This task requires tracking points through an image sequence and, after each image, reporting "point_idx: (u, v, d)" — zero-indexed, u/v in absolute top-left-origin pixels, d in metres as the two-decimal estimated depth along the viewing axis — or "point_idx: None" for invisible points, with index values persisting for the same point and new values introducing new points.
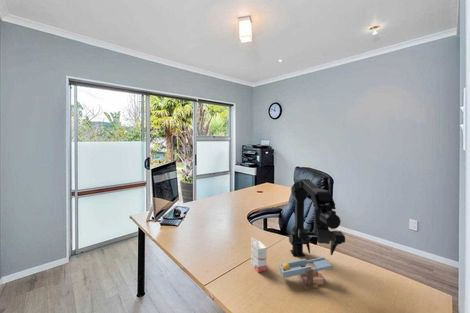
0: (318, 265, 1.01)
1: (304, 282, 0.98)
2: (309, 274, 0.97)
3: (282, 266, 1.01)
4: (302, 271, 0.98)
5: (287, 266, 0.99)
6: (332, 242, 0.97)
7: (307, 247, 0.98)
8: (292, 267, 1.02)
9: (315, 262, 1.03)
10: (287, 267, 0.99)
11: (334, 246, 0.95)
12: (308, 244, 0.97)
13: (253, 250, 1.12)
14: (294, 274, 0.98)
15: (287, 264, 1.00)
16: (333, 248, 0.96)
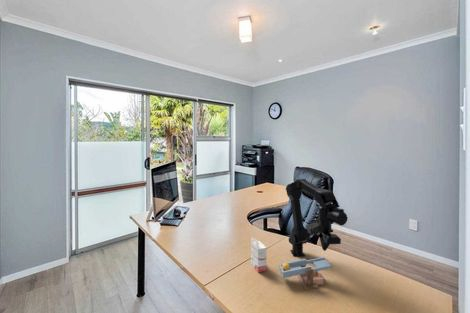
0: (318, 265, 1.01)
1: (304, 282, 0.98)
2: (309, 274, 0.97)
3: (282, 266, 1.01)
4: (302, 271, 0.98)
5: (287, 266, 0.99)
6: None
7: None
8: (292, 267, 1.02)
9: (315, 262, 1.03)
10: (287, 267, 0.99)
11: (322, 241, 1.04)
12: (320, 239, 1.06)
13: (253, 250, 1.12)
14: (294, 274, 0.98)
15: (287, 264, 1.00)
16: (322, 243, 1.04)
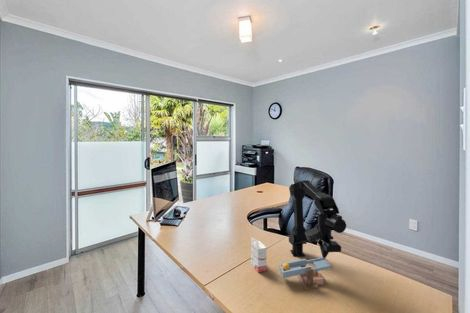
0: (318, 265, 1.01)
1: (304, 282, 0.98)
2: (309, 274, 0.97)
3: (282, 266, 1.01)
4: (302, 271, 0.98)
5: (287, 266, 0.99)
6: None
7: None
8: (292, 267, 1.02)
9: (315, 262, 1.03)
10: (287, 267, 0.99)
11: (322, 248, 1.00)
12: (320, 247, 1.02)
13: (253, 250, 1.12)
14: (294, 274, 0.98)
15: (287, 264, 1.00)
16: (322, 250, 1.00)
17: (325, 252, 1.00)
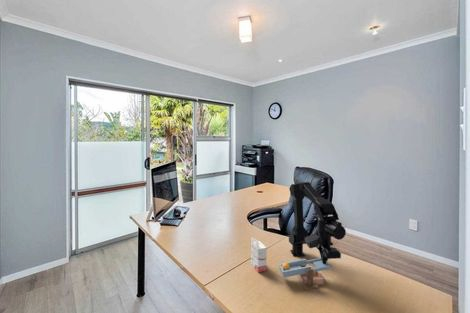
0: (318, 265, 1.01)
1: (304, 282, 0.98)
2: (309, 274, 0.97)
3: (282, 266, 1.01)
4: (302, 271, 0.98)
5: (287, 266, 0.99)
6: None
7: (320, 255, 1.02)
8: (292, 267, 1.02)
9: (315, 262, 1.03)
10: (287, 267, 0.99)
11: (322, 254, 1.00)
12: (320, 253, 1.02)
13: (253, 250, 1.12)
14: (294, 274, 0.98)
15: (287, 264, 1.00)
16: (322, 256, 1.01)
17: (325, 258, 1.00)
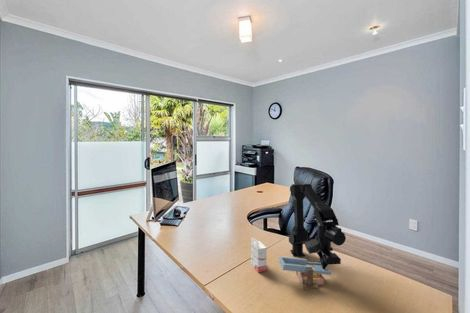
0: (318, 268, 1.01)
1: (304, 282, 0.98)
2: (309, 274, 0.97)
3: None
4: (302, 269, 0.98)
5: (318, 277, 1.01)
6: None
7: None
8: (292, 263, 1.02)
9: (315, 265, 1.03)
10: (317, 277, 1.00)
11: (322, 260, 1.00)
12: (320, 258, 1.02)
13: (253, 250, 1.12)
14: (294, 269, 0.98)
15: (318, 277, 1.01)
16: (322, 261, 1.01)
17: (325, 263, 1.00)
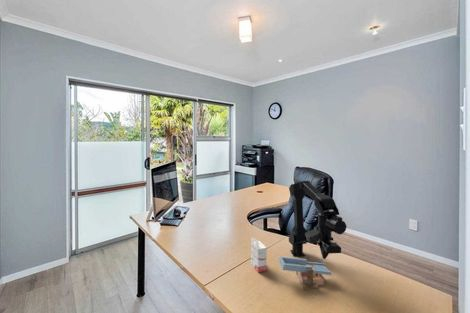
0: (318, 269, 1.01)
1: (304, 282, 0.98)
2: (309, 274, 0.97)
3: None
4: (302, 269, 0.98)
5: (315, 276, 1.00)
6: None
7: None
8: (292, 263, 1.02)
9: (315, 265, 1.03)
10: (315, 276, 1.00)
11: (322, 250, 1.00)
12: (320, 248, 1.02)
13: (253, 250, 1.12)
14: (294, 269, 0.98)
15: None
16: (322, 251, 1.01)
17: (325, 253, 1.00)
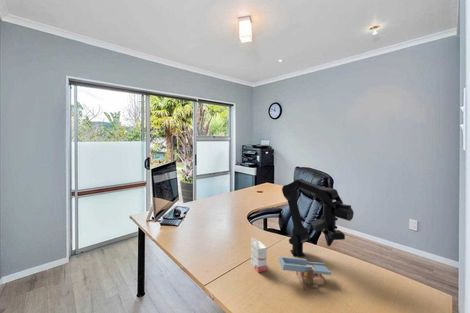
0: (318, 269, 1.01)
1: (304, 282, 0.98)
2: (309, 274, 0.97)
3: (304, 274, 1.01)
4: (302, 269, 0.98)
5: None
6: None
7: None
8: (292, 263, 1.02)
9: (315, 265, 1.03)
10: None
11: (327, 237, 1.08)
12: (325, 236, 1.10)
13: (253, 250, 1.12)
14: (294, 269, 0.98)
15: None
16: (327, 239, 1.08)
17: (330, 241, 1.08)
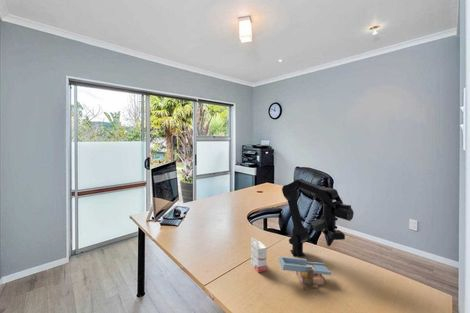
0: (318, 269, 1.01)
1: (304, 282, 0.98)
2: (309, 274, 0.97)
3: None
4: (302, 269, 0.98)
5: (305, 274, 1.00)
6: None
7: None
8: (292, 263, 1.02)
9: (315, 265, 1.03)
10: (306, 275, 1.00)
11: (327, 237, 1.08)
12: (325, 236, 1.10)
13: (253, 250, 1.12)
14: (294, 269, 0.98)
15: (305, 272, 1.01)
16: (327, 239, 1.08)
17: (330, 241, 1.08)
